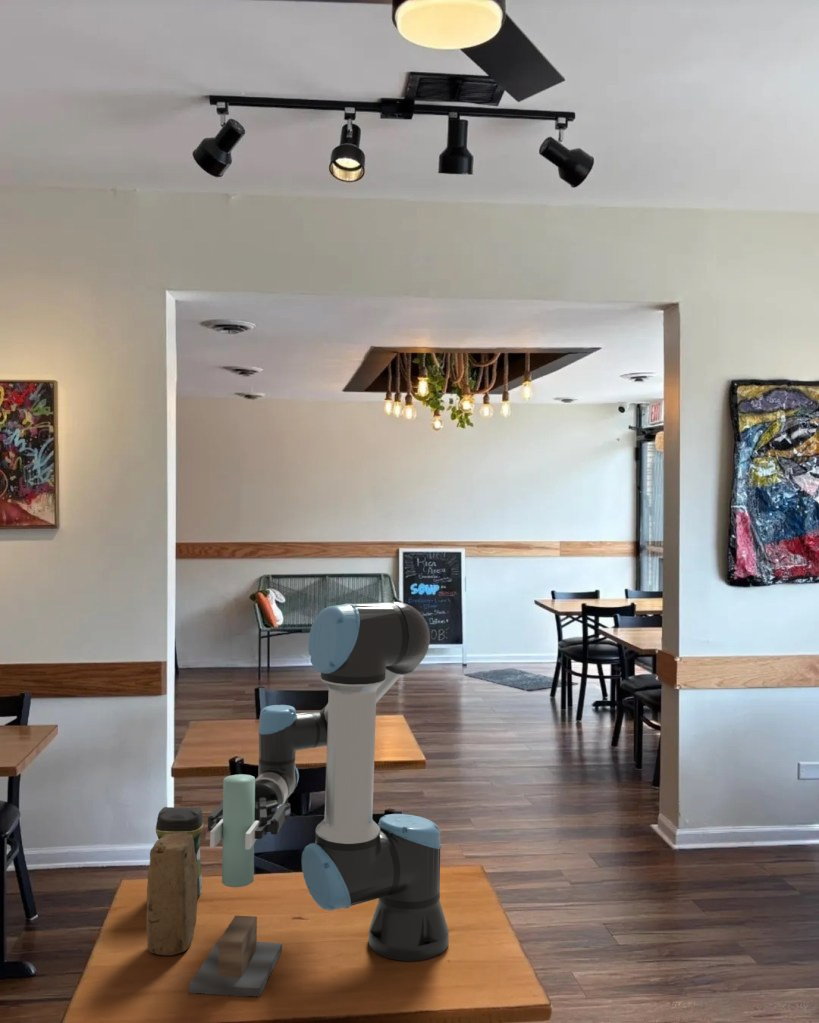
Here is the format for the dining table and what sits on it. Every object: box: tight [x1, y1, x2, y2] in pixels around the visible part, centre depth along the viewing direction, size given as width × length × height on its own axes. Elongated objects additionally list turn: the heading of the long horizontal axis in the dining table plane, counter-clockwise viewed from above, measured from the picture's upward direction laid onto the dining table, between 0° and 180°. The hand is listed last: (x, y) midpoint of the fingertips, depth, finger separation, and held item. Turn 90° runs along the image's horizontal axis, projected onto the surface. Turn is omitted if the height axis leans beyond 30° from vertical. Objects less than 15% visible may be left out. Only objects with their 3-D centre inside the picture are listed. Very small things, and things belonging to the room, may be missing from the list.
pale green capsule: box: [221, 773, 256, 888], centre depth 159 cm, size 6×6×18 cm
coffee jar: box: [155, 806, 204, 898], centre depth 189 cm, size 10×8×19 cm
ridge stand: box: [188, 915, 283, 998], centre depth 158 cm, size 16×12×8 cm
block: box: [146, 833, 198, 956], centre depth 168 cm, size 11×8×20 cm
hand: (229, 840), depth 153 cm, fingers closed on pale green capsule, 5 cm apart
